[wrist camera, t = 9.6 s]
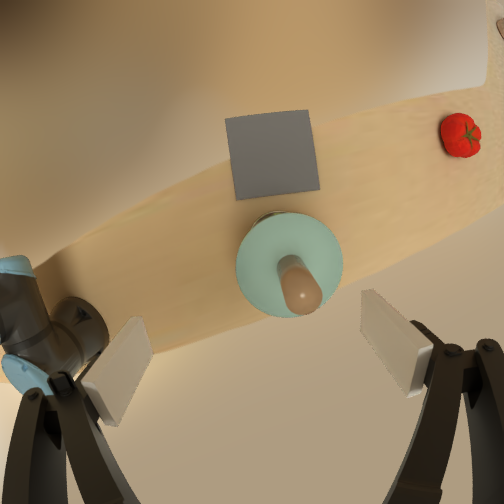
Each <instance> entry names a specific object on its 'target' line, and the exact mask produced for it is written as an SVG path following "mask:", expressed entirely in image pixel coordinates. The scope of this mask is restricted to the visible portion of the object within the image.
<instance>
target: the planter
mask: <svg viewBox="0 0 504 504" xmlns="http://www.w3.org/2000/svg"><path fill="white" fill-rule="evenodd" d="M497 26H498V30H499V32H500V34H501V36H502V37H503V39H504V18H503V19H501V20H499V21H498V22H497Z"/></svg>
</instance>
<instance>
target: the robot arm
mask: <svg viewBox="0 0 504 504" xmlns="http://www.w3.org/2000/svg"><path fill="white" fill-rule="evenodd" d="M361 301H362V302H361V326H360V331H361V333H362V334H363V335H364V337H365V338H366V340H367V341H368V343H369V344H370V345H371V346H372V348H373V350H374V351H375V352H376V354H377V355H378V357H379V358H380V359H381V361H382V362H383V363H384V365H385V366H386V368H387V369H388V371H389V372H390V374H391V375H392V376H393V378H394V379H395V381H396V382H397V384H398V385H399V387H400V388H401V390H402V391H403V393H404V394H405V396H406V397H407V398H409V397H411V396H414V395H417V394H419V393H421V391H422V388H423V384H425V385H426V387H427V388H428V389H427V393H426V396H425V399H424V402H423V407H422V410H421V413H420V416H419V419H418V423H417V425H416V429H415V431H414V434H413V437H412V439H411V442H410V445H409V447H408V450H407V452H406V455H405V457H404V460H403V462H402V464H401V466H400V469H399V471H398V473H397V475H396V477H395V480H394V482H393V484H392V486H391V488H390V490H389V492H388V494H387V496H386V498H385V500H384V501H383V503H382V504H439V502H440V500H441V496H442V490H441V489H440V488H441V483H442V480H443V477H444V474H445V471H446V467H447V464H448V460H449V456H450V452H451V448H452V444H453V439H454V435H455V430H456V425H457V419H458V413H459V407H460V400H461V393H463V395H464V401H465V406H466V413H467V418H468V426H469V434H470V443H471V455H472V471H473V472H472V473H473V500H472V501H473V502H472V503H473V504H504V353H503V351H502V349H501V347H500V345H499V344H498V342H496V341H495V340H493V339H481V340H480V341H478V343H477V345H476V349H475V350H467V351H464V350H463V348H461V347H460V346H458V345H456V344H444V343H443V342H442V341H441V340H440V339H439V338H438V337H437V336H436V335H434V334H433V333H432V332H431V331H430V330H429V329H427V328H426V326H424V325H423V324H422V323H420V322H417V321H415V320H412V321H408V320H407V319H406V318H405V317H404V316H403V315H402V314H401V313H400V312H399V311H397V310H396V309H395V308H394V307H393V306H392V305H391V304H390V303H388V302H387V301H386V300H385V299H384V298H383V297H382V296H381V295H380V294H378V293H377V292H376V291H375V290H374V289H369V290H364V291H362V300H361ZM108 343H109V335H108V330H107V327H106V325H105V323H104V321H103V319H102V317H101V316H100V314H99V313H98V312H97V311H96V310H95V308H94V307H92V306H91V305H90V304H89V303H87V302H86V301H84V300H82V299H80V298H76V297H67V298H65V299H63V300H62V301H60V302H59V303H57V304H56V306H55V307H54V309H53V311H52V312H51V314H50V316H49V315H48V313H47V310H46V308H45V305H44V302H43V300H42V297H41V294H40V291H39V288H38V285H37V282H36V276H35V275H34V273H33V270H32V267H31V264H30V261H29V259H28V258H27V257H25V256H23V255H17V256H11V257H6V258H2V259H0V345H1V344H2V347H3V349H4V351H5V353H6V354H5V355H3V358H2V361H1V364H2V369H3V371H4V373H5V375H6V377H7V378H8V380H9V381H10V382H11V384H12V385H13V386H14V387H15V388H16V389H17V390H18V391H19V392H20V393H21V394H23V397H22V400H21V403H20V407H19V410H18V414H17V417H16V421H15V425H14V429H13V433H12V437H11V442H10V446H9V451H8V457H7V462H6V468H5V476H4V484H3V494H2V504H68V498H67V481H66V451H67V455H68V458H69V461H70V464H71V468H72V471H73V474H74V477H75V480H76V482H77V485H78V488H79V490H80V493H81V495H82V498H83V501H84V503H85V504H141V503H140V502H139V500H138V499H137V497H136V496H135V494H134V492H133V491H132V489H131V487H130V486H129V484H128V482H127V480H126V479H125V477H124V475H123V473H122V471H121V470H120V468H119V466H118V464H117V462H116V460H115V458H114V456H113V454H112V452H111V450H110V448H109V446H108V444H107V442H106V439H105V438H104V435H103V433H102V430H101V428H100V426H99V425H98V423H97V421H98V419H99V417H100V418H101V419H102V421H103V423H104V424H105V425H110V426H115V427H118V426H119V424H120V421H121V419H122V417H123V415H124V413H125V411H126V409H127V407H128V405H129V403H130V401H131V399H132V396H133V394H134V392H135V390H136V388H137V386H138V384H139V382H140V380H141V378H142V376H143V374H144V372H145V370H146V368H147V366H148V364H149V362H150V360H151V358H152V357H153V355H154V353H153V350H152V347H151V344H150V341H149V338H148V335H147V331H146V328H145V325H144V321H143V318H142V316H136V317H131V318H130V319H129V320H128V321H127V322H126V324H125V325H124V326H123V327H122V329H121V330H120V331H119V332H118V334H117V335H116V336H115V337H114V339H113V340H112V341H111V342H110V344H109V345H108ZM87 363H89V364H88V365H87V367H86V368H85V369H84V370H83V372H82V373H81V374H80V375H79V377H78V378H77V379H76V381H75V382H74V380H73V377H74V376H75V374H76V373H77V372H78V371H79V369H80V368H81V367H82V366H83V365H85V364H87Z"/></svg>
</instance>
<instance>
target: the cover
mask: <svg viewBox="0 0 504 504" xmlns="http://www.w3.org/2000/svg"><path fill="white" fill-rule="evenodd" d="M342 270H343V257H342V252H341V248H340V245H339V243H338V241H337V239H336V237H335V236H334V234H333V233H332V232H331V230H330V229H328V228H327V227H326V226H325V225H324V224H323V223H321V222H320V221H318V220H316V219H314V218H313V217H310V216H308V215H305V214H300V213H292V212H290V213H280V214H276V215H273V216H270V217H268V218H265V219H263V220H262V221H260V222H259V223H257V224H256V225H255V226H254V227H253V228H252V229H251V230H250V231H249V232H248V233H247V234H246V236H245V237H244V239H243V241H242V243H241V245H240V247H239V250H238V254H237V259H236V277H237V281H238V284H239V287H240V289H241V291H242V293H243V294H244V296H245V297H246V299H247V300H248V301H249V302H250V303H251V304H252V305H253V306H255V307H256V308H257V309H259V310H260V311H262V312H264V313H266V314H269V315H272V316H276V317H283V318H284V317H285V318H290V317H298V316H303V315H307V314H310V313H312V312H314V311H315V310H316V309H318V308H319V307H321V306H322V305H323V304H325V303H326V301H328V300H329V299H330V297H331V296H332V295H333V293H334V292H335V290H336V288H337V287H338V284H339V282H340V279H341V276H342Z"/></svg>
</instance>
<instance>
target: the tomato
mask: <svg viewBox="0 0 504 504" xmlns="http://www.w3.org/2000/svg"><path fill="white" fill-rule="evenodd" d="M441 136H442V139H443V141H444V146H445V148H446V150H447V152H448V153H449V154H450V155H452V156H453V157H463V158H467V157H471V156H473V155H475V154H476V153H478V151H479V150H480V144H479V142H480V141H479V140H480V139H481V131H480V129H479V127H478V126H477V125H475V124H474V120H473V119H472V118H471V117H469V116H468V115H466V114H462V113H455V114H452V115H450V116H447V118H446V119H445V120H444V121H443V122H442V125H441Z"/></svg>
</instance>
